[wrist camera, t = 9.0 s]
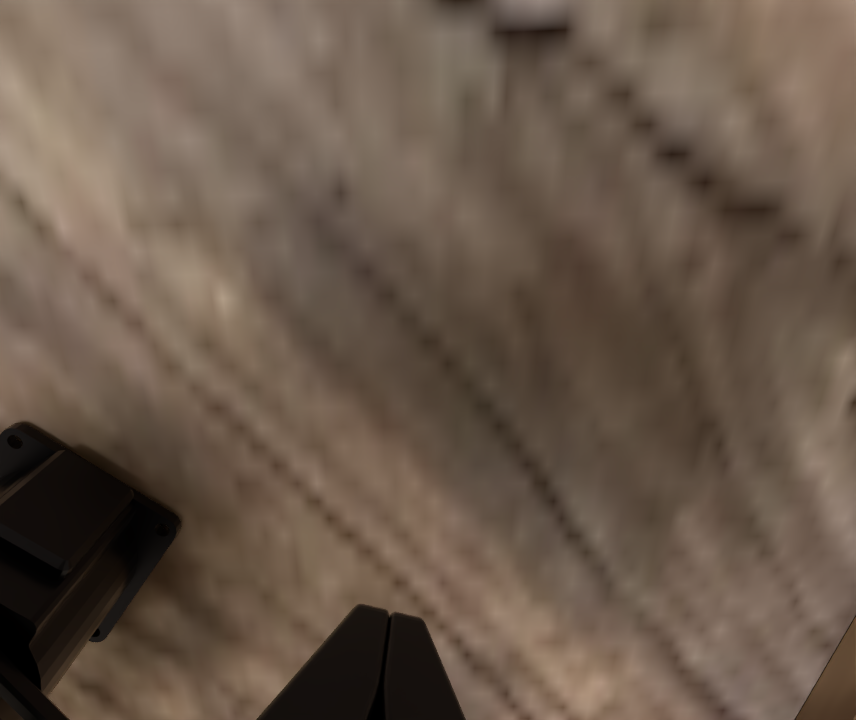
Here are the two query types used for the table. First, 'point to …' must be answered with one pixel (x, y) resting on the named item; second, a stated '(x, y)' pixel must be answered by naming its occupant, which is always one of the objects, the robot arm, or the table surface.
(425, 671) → the robot arm
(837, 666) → the studded brown plank
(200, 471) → the table surface
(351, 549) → the table surface
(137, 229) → the table surface
